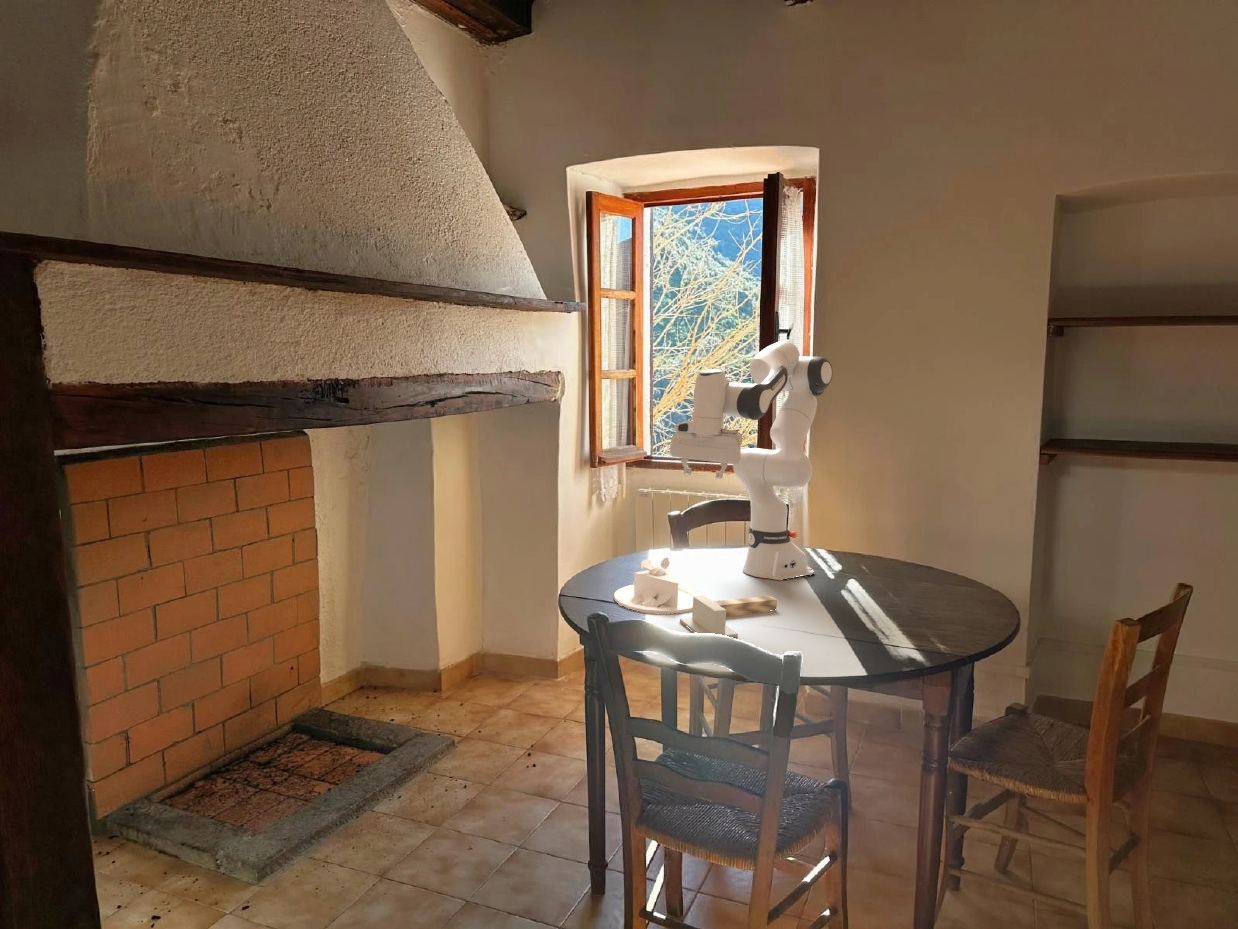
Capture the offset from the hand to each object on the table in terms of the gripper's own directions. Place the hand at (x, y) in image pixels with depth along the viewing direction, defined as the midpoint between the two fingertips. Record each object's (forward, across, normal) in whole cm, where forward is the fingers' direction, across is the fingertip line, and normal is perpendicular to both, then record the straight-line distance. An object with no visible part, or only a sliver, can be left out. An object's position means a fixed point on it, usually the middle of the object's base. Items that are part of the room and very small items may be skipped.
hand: (703, 476), depth 233 cm
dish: (+35, +6, +11) cm, 37 cm away
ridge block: (+34, -14, +28) cm, 46 cm away
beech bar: (+34, -18, +9) cm, 40 cm away
